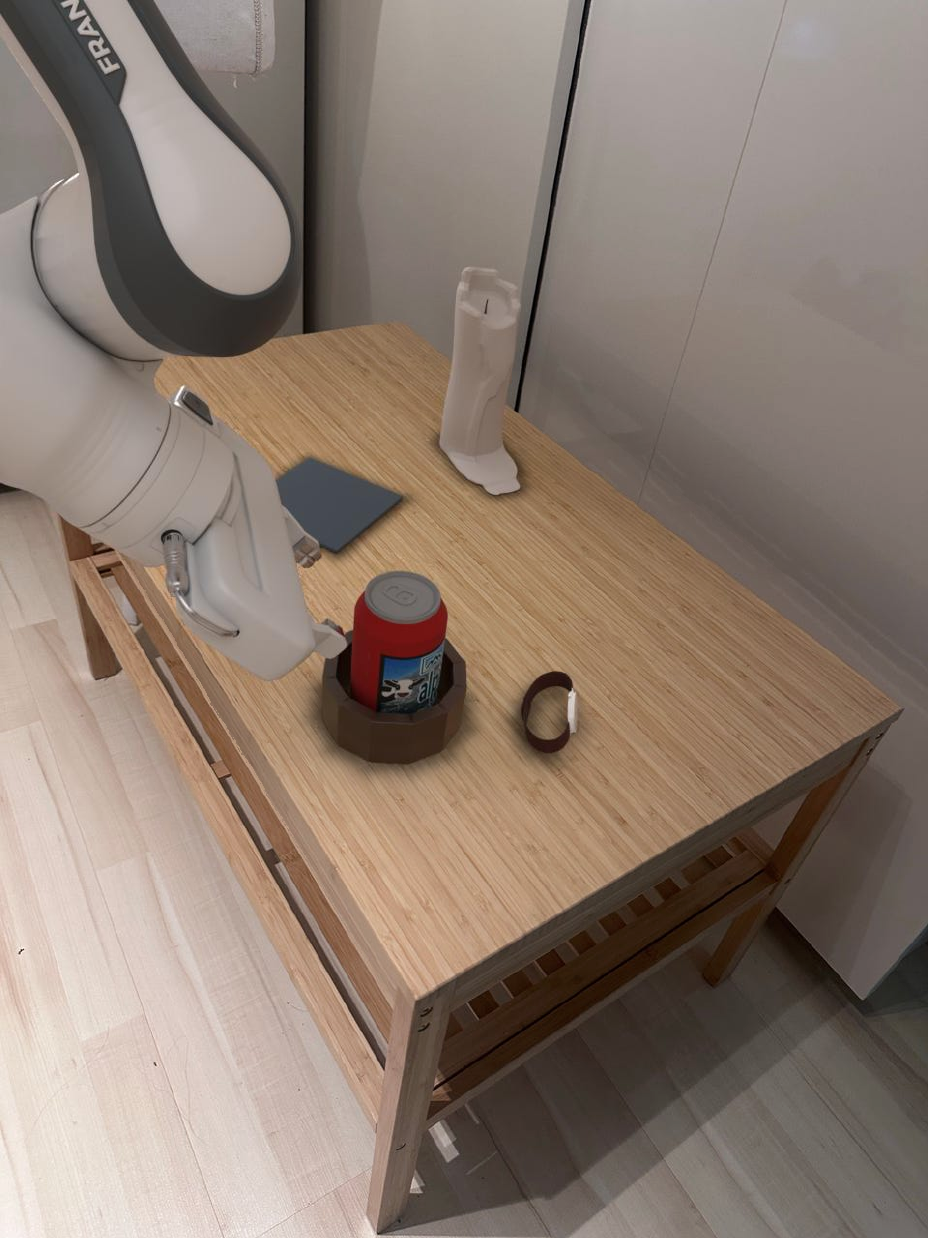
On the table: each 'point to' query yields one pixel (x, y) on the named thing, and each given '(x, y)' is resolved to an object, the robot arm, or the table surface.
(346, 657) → the faceted ring
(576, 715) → the watch
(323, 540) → the mat
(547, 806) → the table surface
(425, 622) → the beverage can
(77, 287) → the robot arm
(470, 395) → the candle
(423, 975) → the table surface
